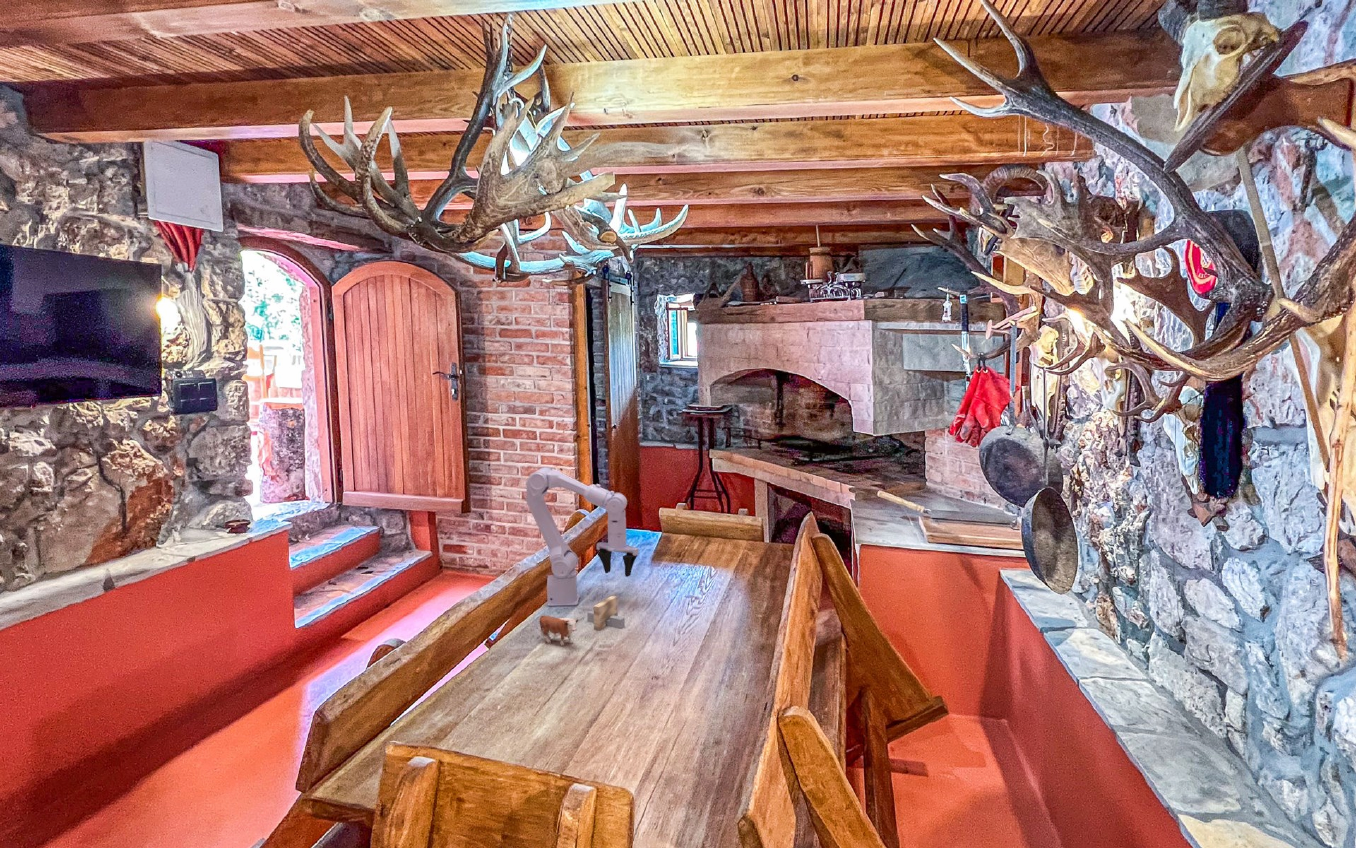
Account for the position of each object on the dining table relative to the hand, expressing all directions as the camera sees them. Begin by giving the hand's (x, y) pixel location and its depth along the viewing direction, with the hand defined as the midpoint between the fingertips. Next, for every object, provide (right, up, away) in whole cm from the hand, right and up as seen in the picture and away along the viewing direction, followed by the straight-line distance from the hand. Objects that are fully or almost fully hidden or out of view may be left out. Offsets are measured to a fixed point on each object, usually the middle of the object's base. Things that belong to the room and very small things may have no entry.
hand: (617, 574), depth 239 cm
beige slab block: (-2, -12, -15) cm, 19 cm away
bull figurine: (-14, -14, -28) cm, 34 cm away
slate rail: (-2, -12, -15) cm, 19 cm away
